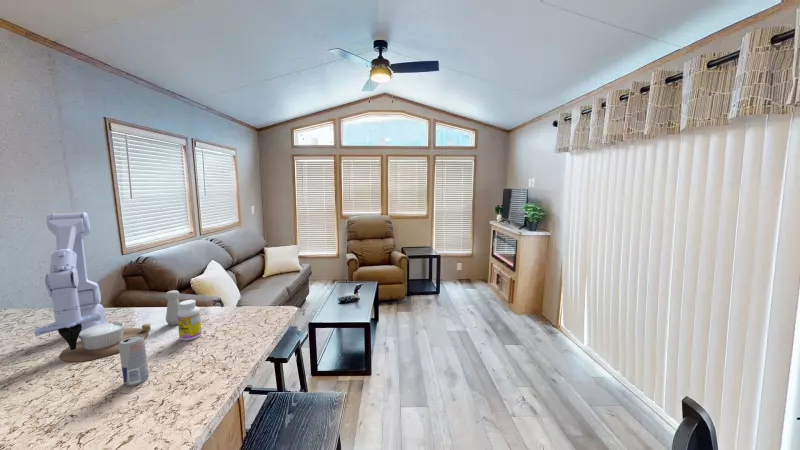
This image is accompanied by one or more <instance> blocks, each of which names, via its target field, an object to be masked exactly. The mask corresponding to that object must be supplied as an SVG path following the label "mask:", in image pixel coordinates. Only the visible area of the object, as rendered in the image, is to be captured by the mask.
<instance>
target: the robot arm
mask: <svg viewBox="0 0 800 450" xmlns="http://www.w3.org/2000/svg"><path fill="white" fill-rule="evenodd" d="M90 221H91V220H90V217H89V214H88V212H86V211H81V212H65V213H63V212H62V213H61V212H60V213H59V212H58V213H52V212H51V213H48V215H47V216H46V226H47V228H48V230H49V231H50V232H51V234H53V235H54V236H55V238H56V239H55V240H56V243H55V244H56V250H55V251H54V252H52V253H51V256H50V264H49V273H47V274H46V275H45V277H44V278H45V279H44V283H45V287H46V290H47V292H48V296H49V298H51V304H52V311H53V315H54V316H53V317H54V322H53V323H50V324H46V325H44V326H43V325H42V326H40V327H36V328H33V329H34V335H35V337H39V336H41V335H44V334H49V333H53V332H58V334H59V335H60V336H61V337H62V339H64V341H65V342H66V343H67V345H68V347H69V346H70V350H74V349H76V343H77V342H78V339H79V334H80V332H81V331H83V330H85V329H87V328H90V327H93V326H96V325H99V324H104V323H110V322H109V321H107V319H106V314H105V308H104V306H103V304H101V302H102V293H101V289H100V285H99V284H98V282H96V281H92V280H90V279H88V278H89V277H88V269H87V262H86V261H87V260H86V253H85V244H84V240H85V236H88V235H90V234H91V223H90Z"/></svg>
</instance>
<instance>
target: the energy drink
mask: <svg viewBox="0 0 800 450" xmlns="http://www.w3.org/2000/svg"><path fill="white" fill-rule="evenodd" d="M145 340H146V339H145ZM145 340H144V338H143V336H142V335H135V336H130V337H127V338H124V339H122V340H121V341H120V342H119V351H120V353H119V357H120V365H121V371H122V378H123V380H122V381H123V385H125V386H127V387H132V386H133V387H134V386H136V385H137V386H138V385H139V384H142V383H144V382H145V381H147V379H148V378H149V377H150V375H149V373H150V372H149V367H148V366H149V365H148V357H147V350H146V343H145Z"/></svg>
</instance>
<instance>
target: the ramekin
mask: <svg viewBox="0 0 800 450" xmlns="http://www.w3.org/2000/svg"><path fill="white" fill-rule="evenodd" d="M124 329H125V323H124V322H121V321H113V322H109V323H104V324H99V325H96V326H93V327H90V328H87V329H85V330H83V331H81V332H80V334H79V336H78V339H80V341H81V342H82V344H83V346H84V348H86V349H88V350H98V349H103V348H106V347H110V346H112V345H115V344H117V343H118V342H120V341H121V339H122V338H123V330H124Z"/></svg>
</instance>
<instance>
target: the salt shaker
mask: <svg viewBox="0 0 800 450" xmlns="http://www.w3.org/2000/svg"><path fill="white" fill-rule="evenodd" d="M179 296H180V292H179V291H178V290H177V289H176V290H175V289H173V290H169V291H167V292H166V293H165V298H166V299H167V305H166V314H165V321H166V323H167V325H168V326H170V327H171V326H172V327H174V326H178V319H177V312H178V311H179V310H180V309H181V308H180V305H179V304H180V302H181V301H180V300H179Z"/></svg>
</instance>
